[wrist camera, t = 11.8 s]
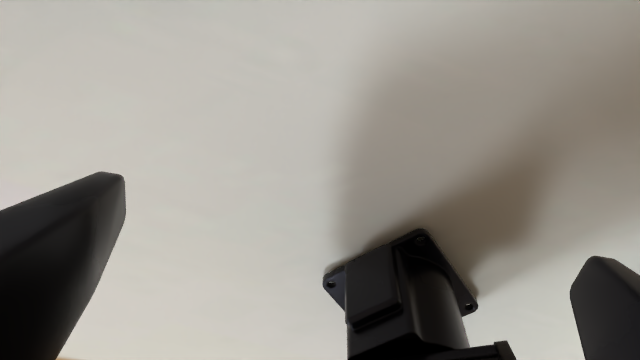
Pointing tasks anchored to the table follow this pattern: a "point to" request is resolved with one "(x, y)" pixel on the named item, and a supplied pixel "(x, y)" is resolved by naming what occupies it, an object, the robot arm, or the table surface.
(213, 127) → the table surface
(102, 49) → the table surface
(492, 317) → the table surface
